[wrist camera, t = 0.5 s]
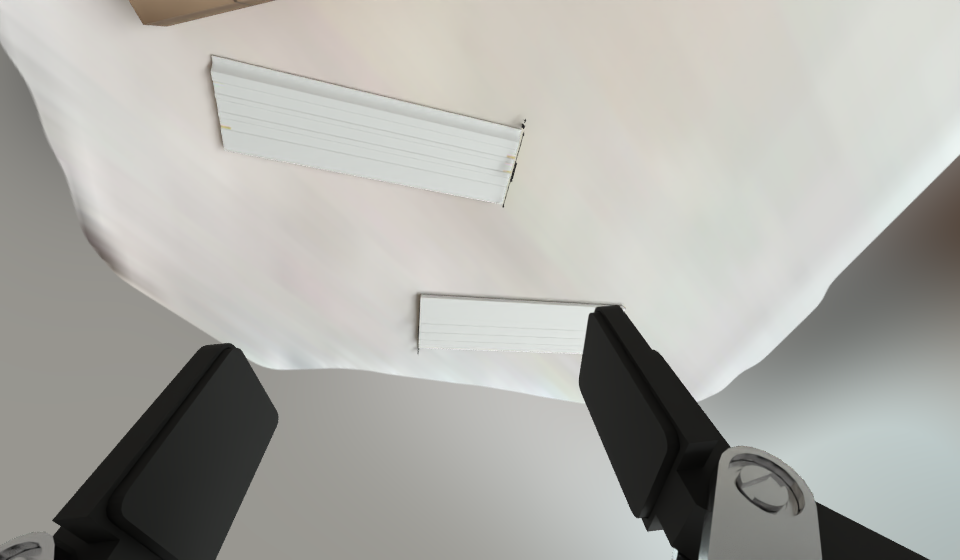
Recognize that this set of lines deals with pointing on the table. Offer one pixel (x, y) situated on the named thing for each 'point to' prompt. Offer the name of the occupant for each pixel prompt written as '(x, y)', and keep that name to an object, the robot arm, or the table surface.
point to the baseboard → (361, 133)
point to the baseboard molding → (502, 324)
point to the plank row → (184, 9)
